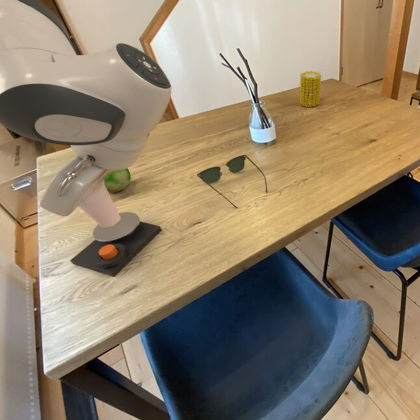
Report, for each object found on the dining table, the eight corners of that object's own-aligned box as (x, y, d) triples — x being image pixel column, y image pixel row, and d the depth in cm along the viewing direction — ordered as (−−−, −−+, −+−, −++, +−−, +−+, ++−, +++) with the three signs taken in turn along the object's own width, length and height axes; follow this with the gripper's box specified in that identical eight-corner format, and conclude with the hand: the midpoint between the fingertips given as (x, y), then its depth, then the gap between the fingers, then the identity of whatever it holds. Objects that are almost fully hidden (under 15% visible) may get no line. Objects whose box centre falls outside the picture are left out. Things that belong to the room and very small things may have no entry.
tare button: (110, 261, 61) (105, 256, 60) (99, 258, 61) (95, 253, 60) (121, 251, 63) (117, 246, 62) (110, 248, 64) (106, 243, 62)
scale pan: (117, 246, 63) (115, 245, 63) (83, 237, 66) (82, 235, 65) (149, 217, 70) (148, 216, 70) (118, 210, 73) (117, 208, 72)
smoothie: (116, 232, 53) (70, 173, 44) (84, 232, 54) (31, 173, 44) (134, 210, 58) (95, 152, 49) (104, 210, 58) (60, 152, 49)
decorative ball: (92, 194, 82) (71, 166, 76) (122, 176, 89) (106, 149, 82) (115, 203, 79) (95, 174, 73) (144, 183, 86) (128, 156, 79)
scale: (114, 277, 61) (106, 269, 59) (73, 264, 63) (65, 256, 61) (162, 229, 71) (157, 221, 69) (125, 220, 74) (119, 212, 72)
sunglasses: (227, 214, 76) (222, 200, 72) (201, 186, 85) (195, 173, 82) (276, 189, 84) (274, 175, 80) (247, 166, 93) (244, 153, 90)
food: (308, 102, 138) (323, 108, 133) (291, 103, 130) (306, 110, 125) (313, 69, 130) (329, 74, 125) (295, 68, 122) (311, 74, 117)
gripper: (91, 193, 38) (65, 241, 44) (155, 126, 53) (129, 169, 60) (35, 166, 35) (17, 222, 41) (120, 103, 50) (97, 151, 56)
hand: (84, 190), depth 51 cm, fingers closed on smoothie, 6 cm apart
